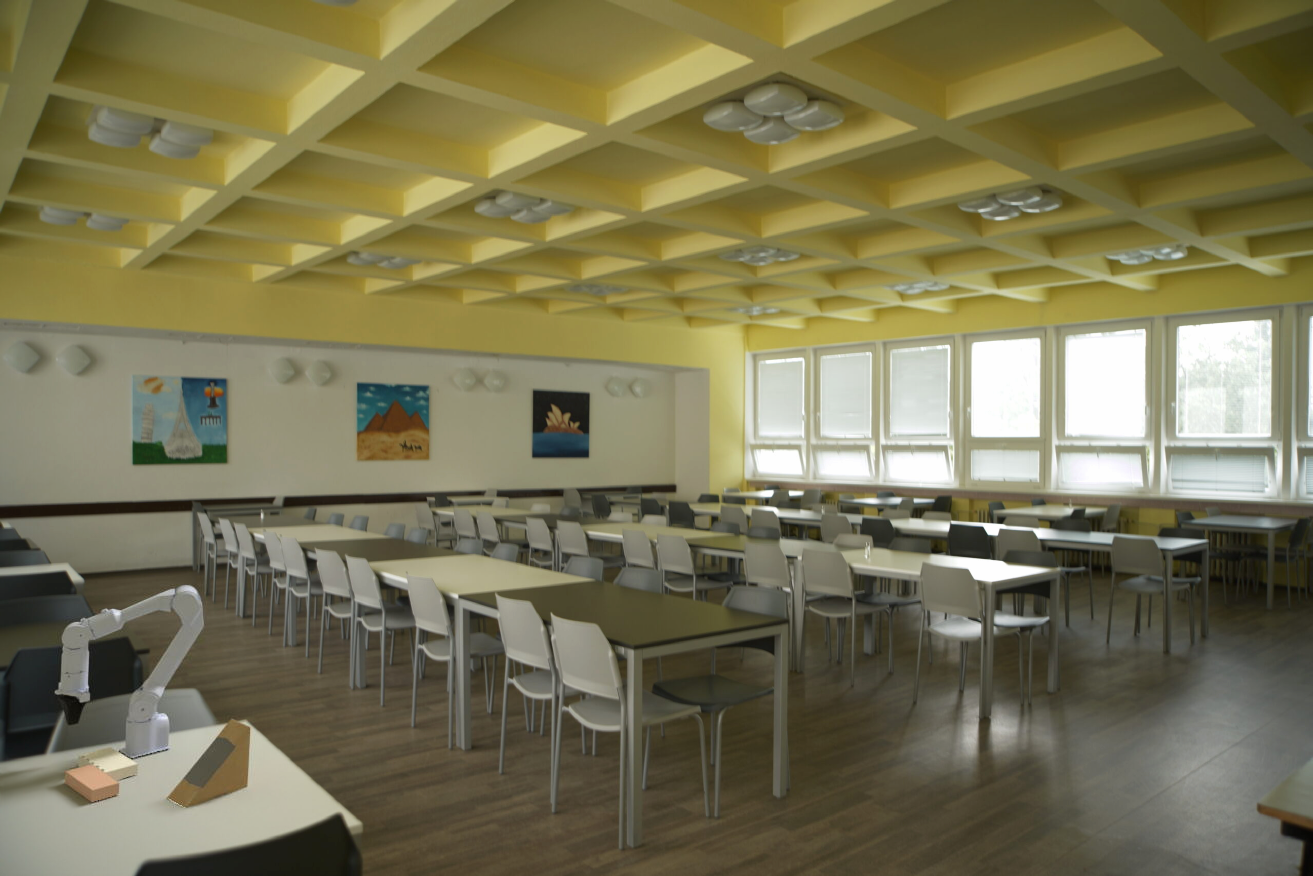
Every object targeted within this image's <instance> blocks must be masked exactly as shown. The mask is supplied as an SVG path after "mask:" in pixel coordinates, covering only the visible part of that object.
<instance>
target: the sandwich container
mask: <svg viewBox="0 0 1313 876" xmlns="http://www.w3.org/2000/svg"><path fill="white" fill-rule="evenodd" d="M250 742H251V726H249V725H247V724H245V723H243V722H241V721H238V720H236V719H234V718H230V719H229V721H228V722H227V723H226V725H225V726H224V727H223V728H222V729H221V731H220V732H219V734H218V735H217V736H216V737H215V739H214V740H213V741H212V742H211V744H210V745H209V746H208V747H207V749H206V750H205V751H204V752H203V753H202V754H201V756H200V757H199V758H198V760H197V761H196V762H195V764H194V765H193V766H192V767H191V768H190V769H189V771H188V772H187V773H186V774H185V775H184V777H183V778H182V779H181V780H180V782H179V783H178V784H177V785H176V786H175V788H174V789H173V790H172V791H171V792H170V793H169V795H168V796H167V797H166V799H167V798H169V799H171V800H172V801H174V802H176V803H178V804H179V805H182V806H183V807H186V808H189V807H192V806H195V805H199V804H201V803H204V802H207V801H210V800H213V799H216V798H217V799H218V798H220V797H222V795H223V796H225V794H226V795H228V793H229V794H230V793H233V792H236V790H237V791H239V789H240V790H242V789H245V788H247V787H248V782H249V766H250V765H249V763H250V746H251V745H250V744H251V743H250ZM188 806H189V807H188ZM183 807H182V808H183Z"/></svg>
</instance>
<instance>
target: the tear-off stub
mask: <svg viewBox="0 0 1313 876" xmlns="http://www.w3.org/2000/svg"><path fill="white" fill-rule="evenodd" d="M64 774H65V775H64V784H66V785H67V786H68V787H70V788H71V789H73V790H74V791H75V792H77V793H78V794H80V795H81V796H82V795H83V796H82V797H84V798H85V799H86V800H88V801H89V802H91V803H95V802H94V801H96V802H99V801H103V800H105V798H106V799H109V798H108V797H110V798H112V796H113V797H115V796H114V795H116V796H118V795H117V794H120V782H119V781H116V780H114V779H113V778H111V777H110V776H108V775H107V774H105V773H104V772H102V771H101V770H99V769H98V768H96V767H95V766H93V765H87V766H83V767H76V768H72V769H69V770H65V771H64ZM102 799H103V800H102ZM98 800H99V801H98Z"/></svg>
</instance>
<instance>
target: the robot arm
mask: <svg viewBox="0 0 1313 876" xmlns="http://www.w3.org/2000/svg"><path fill="white" fill-rule="evenodd" d="M171 608H172V609H173V611H174V612H175V613H176V614H177V615H178V616H179V619H180V621H181V624H182V626H181V627H180V628H179V630H178V632H177V634H176V635H175V636H174V638H173V639H172V641H171V643H170V644H169V645H168V647H167V649H166V650H165V652H164V653H163V655H162V656H161V658H160V660H159V661H158V662H157V665H156V666H155V667H154V669H153V670H152V672H151V673H150V675H149V677H147V679H146V680H145V681H143V684H142V685H141V686H140V687H139V688H138V689H136V690H135V691H134V692H133V693H131V696H130V698H129V708H128V715H127V716H126V723H125V724H126V726H125V746H124V747H123V748H120V749H118V752H119V751H120V752H119V753H121V752H122V753H124V754H125V755H124V754H123V755H124V756H126V755H127V756H128V757H127V756H126V757H127V758H129V757H130V758H129V759H131V758H133V759H136V758H135V757H137V758H139V757H138V756H141V755H144V754H148V755H150V754H149V753H152V754H154V753H153V752H156V753H158V752H157V751H160V752H163V751H162V750H164V751H166V750H165V749H168V750H170V746H169V741H170V739H169V738H170V721H169V716H167V714H166V713H164V712H162V713H159V712H158V702H159V701H160V700H161V698H162V696H163V694H164V691H165V688H166V687H167V685H168V684H169V682H170V680H171V679H172V677H173V676H174V674H175V673H176V670H178V668H179V666H180V665H181V664H182V662H183V660H184V658H185V657H186V655H187V653H188V652H189V651H190V649H191V647H192V646H193V645H194V643H195V641H196V640H197V638H198V636H199V635H200V633H201V632H202V630H203V629H204V626H205V623H204V612H203V603H202V598H201V596H200V593H199V592H198V590H197V589H196V588H195V587H194V586H192V585H188V584H185V585H180V586H178V587H177V588H176V589H175V588H170V589H168V590H165V591H163V592H159V593H158V594H155V595H153V596H151V597H149V598H145V599H144V600H141V601H140V602H139V601H138V603H134V604H132V605H131V606H128V607H126V608H124V609H121V610H120V609H115V608H111V609H108V608H103V609H102V610H101V611H100V613H99V614H96V615H93V616H90V617H88V618H86V617H83V618H81V619H80V621H74V622H72V623H69V624H68V625H66V627H65V629H64V630H63V633H62V635H61V643H62V644H63V646H62V653H61V666H60V668H61V669H60V682H58V689H56V690H54V694H55V695H58V696H59V695H62V696H59V697H57V698H58V701H59V702H60V705H61V707H62V709H63V713H64V717H65V722H66V725H68V726H73V725H78V724H79V722H80V719H81V715H82V713H83V710H84V707H85V705H86V704H87V702H90V700H91V693H90V692H89V688H90V686H89V664H90V663H89V659H90V651H89V642H90V641H95V640H97V639H100V638H102V637H105V636H107V635H110V634H112V633H115V632H116V631H119V630H121V629H122V628H123V626H124V624H125V623H127V622H128V621H132V620H134V619H137V618H139V617H142V616H145V615H148V614H151V613H154V612H157V611H161V612H162V611H163V612H168V613H171ZM122 753H121V754H122ZM141 757H142V756H141Z"/></svg>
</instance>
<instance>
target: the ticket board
mask: <svg viewBox="0 0 1313 876" xmlns="http://www.w3.org/2000/svg"><path fill="white" fill-rule="evenodd" d="M77 761H78V763H77V766H79V767H83V766H87V765H93V766H95V767H96V768H98V769H99V770H101V771H102V772H104V773H105V774H107V775H108V776H110V777H111V778H113V779H114V780H118V781H120V780H119V779H122V778H125V777H128V776H131V775H135V774H137V775H138V770H139V767H138V766H139V763H138V762H135V761H134V760H133V759H131V758H129V757H127V756H126V755H124V754H122V753H121V752H119V750H116V749H115V748H112V747H105V748H102V749H98V750H94V751H90V752H85V753H82V754H78V759H77ZM79 767H78V768H79ZM122 780H123V779H122Z"/></svg>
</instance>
